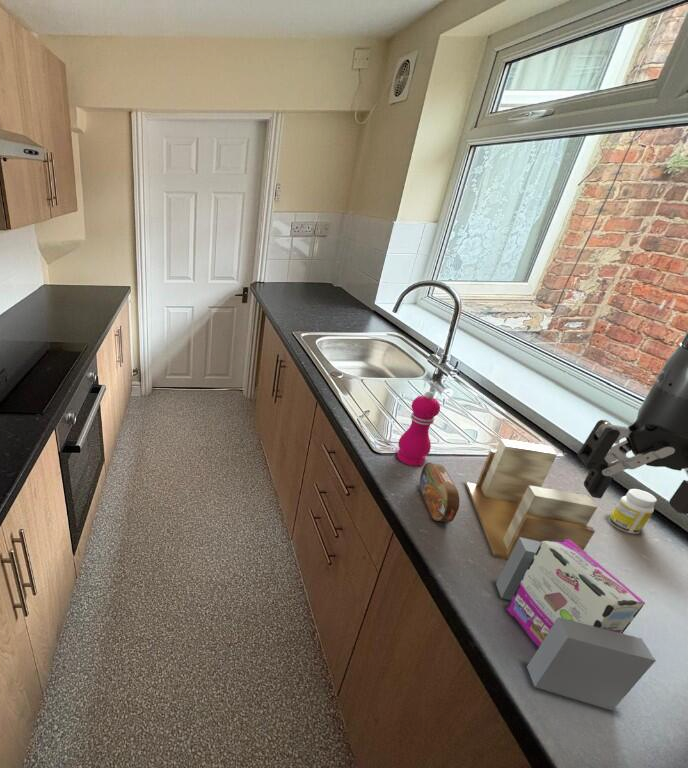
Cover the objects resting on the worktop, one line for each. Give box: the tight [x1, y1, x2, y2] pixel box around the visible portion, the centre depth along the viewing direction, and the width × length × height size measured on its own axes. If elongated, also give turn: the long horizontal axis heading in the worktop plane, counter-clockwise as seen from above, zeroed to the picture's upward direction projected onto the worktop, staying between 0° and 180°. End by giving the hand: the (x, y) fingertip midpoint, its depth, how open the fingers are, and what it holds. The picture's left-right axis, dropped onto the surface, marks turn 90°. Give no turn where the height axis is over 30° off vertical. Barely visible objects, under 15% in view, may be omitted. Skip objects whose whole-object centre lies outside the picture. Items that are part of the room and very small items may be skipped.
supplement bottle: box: [608, 488, 658, 534], centre depth 85 cm, size 5×5×8 cm
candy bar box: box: [506, 540, 646, 648], centre depth 63 cm, size 11×5×16 cm, turn 4°
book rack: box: [465, 438, 598, 560], centre depth 84 cm, size 14×22×15 cm, turn 160°
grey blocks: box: [495, 537, 656, 711], centre depth 64 cm, size 9×18×12 cm, turn 160°
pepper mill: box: [396, 391, 441, 467], centre depth 104 cm, size 7×7×20 cm
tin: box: [419, 462, 460, 523], centre depth 91 cm, size 15×3×8 cm, turn 167°
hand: (634, 501), depth 53 cm, fingers open, 8 cm apart
